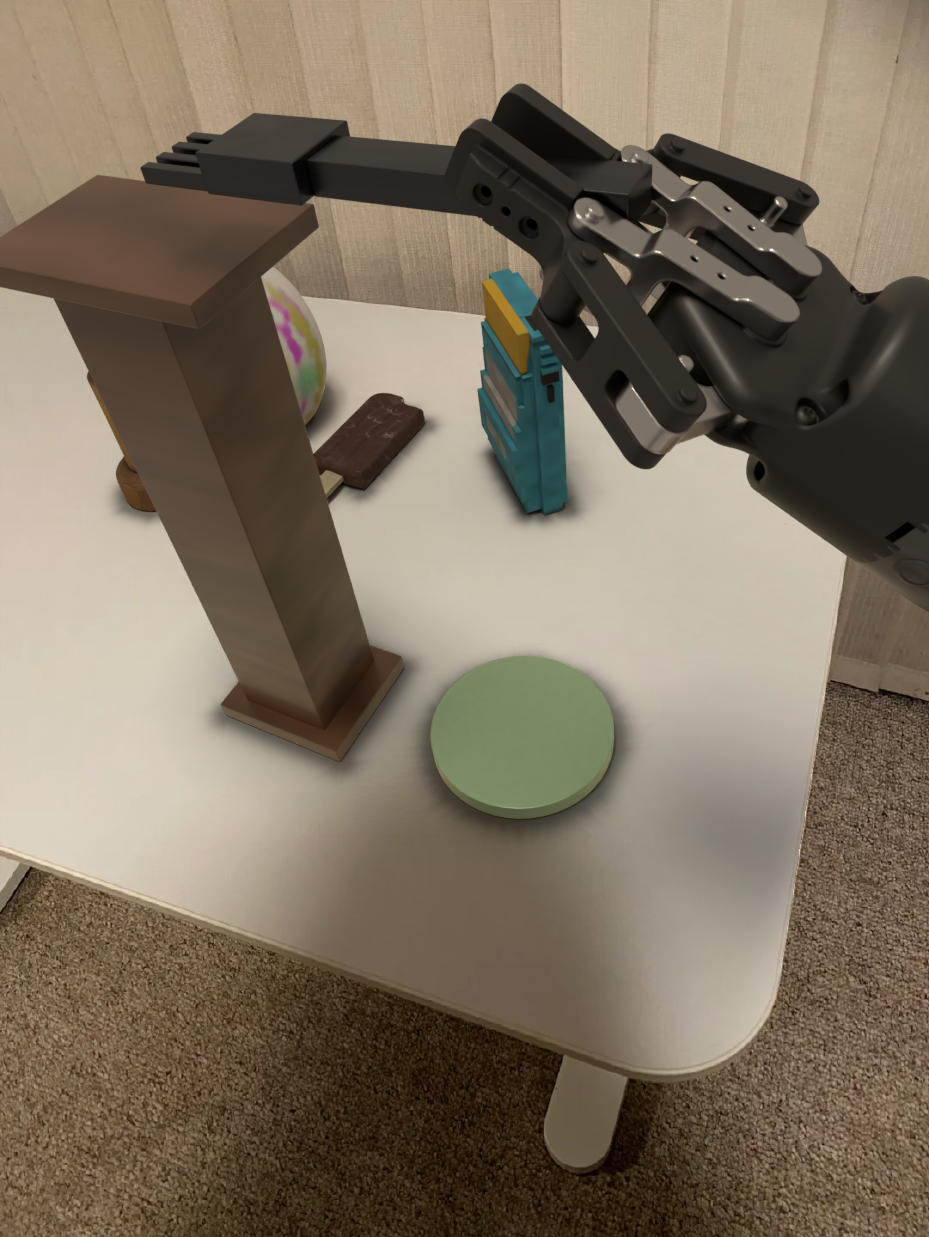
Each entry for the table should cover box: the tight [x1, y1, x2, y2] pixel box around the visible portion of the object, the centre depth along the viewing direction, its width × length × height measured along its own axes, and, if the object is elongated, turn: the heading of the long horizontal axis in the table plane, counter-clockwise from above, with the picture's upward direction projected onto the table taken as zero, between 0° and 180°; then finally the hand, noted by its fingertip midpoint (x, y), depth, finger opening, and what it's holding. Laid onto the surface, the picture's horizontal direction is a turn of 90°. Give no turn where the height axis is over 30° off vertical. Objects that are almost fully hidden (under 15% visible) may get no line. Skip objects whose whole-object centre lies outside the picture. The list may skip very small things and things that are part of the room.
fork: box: [140, 112, 652, 225], centre depth 30 cm, size 3×18×1 cm, turn 63°
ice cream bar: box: [313, 392, 426, 499], centre depth 75 cm, size 5×2×15 cm
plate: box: [429, 655, 615, 820], centre depth 56 cm, size 11×11×1 cm
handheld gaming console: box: [476, 267, 568, 516], centre depth 66 cm, size 10×4×15 cm, turn 17°
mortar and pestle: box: [86, 370, 157, 512], centre depth 70 cm, size 7×6×18 cm
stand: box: [0, 174, 405, 762], centre depth 49 cm, size 8×12×31 cm, turn 62°
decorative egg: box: [261, 266, 328, 426], centre depth 76 cm, size 12×12×15 cm
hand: (479, 133), depth 27 cm, fingers closed on fork
